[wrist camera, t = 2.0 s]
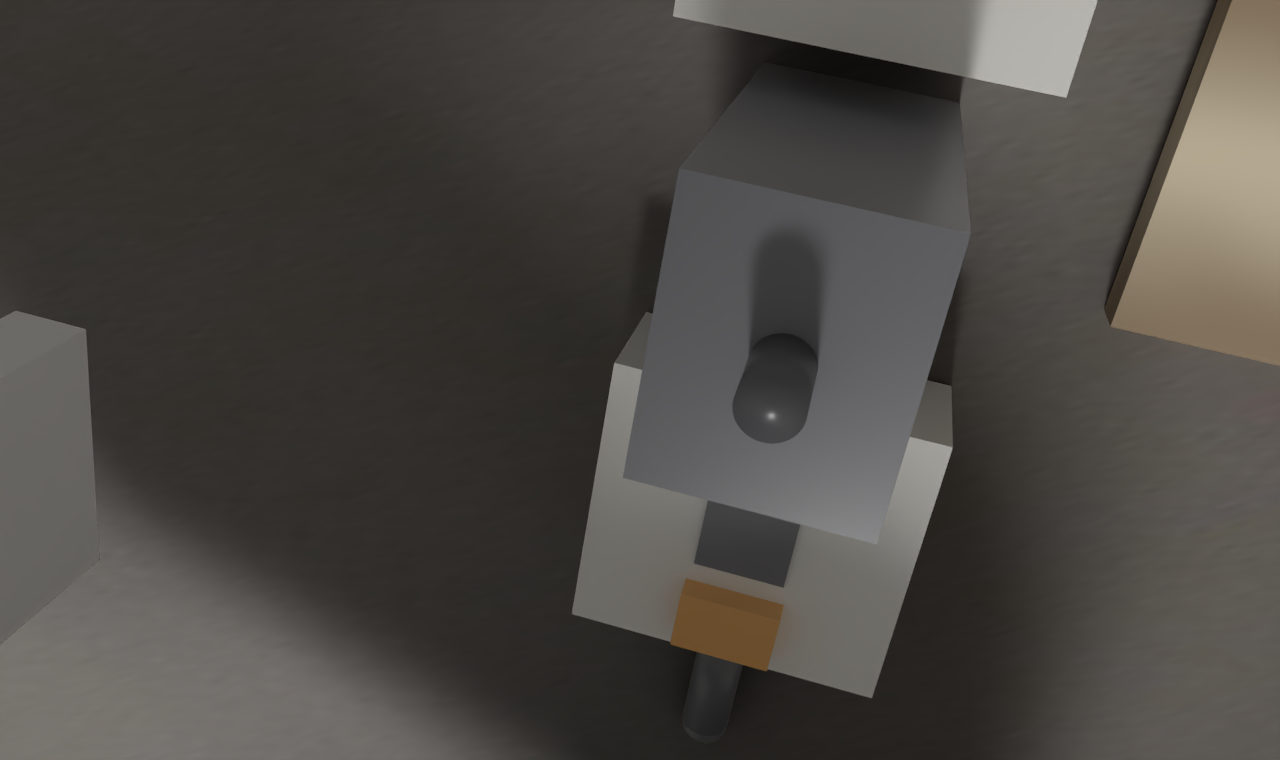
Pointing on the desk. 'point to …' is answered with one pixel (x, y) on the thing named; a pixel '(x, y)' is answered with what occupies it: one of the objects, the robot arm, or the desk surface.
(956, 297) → the desk surface
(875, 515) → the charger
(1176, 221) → the birch board
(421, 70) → the desk surface
